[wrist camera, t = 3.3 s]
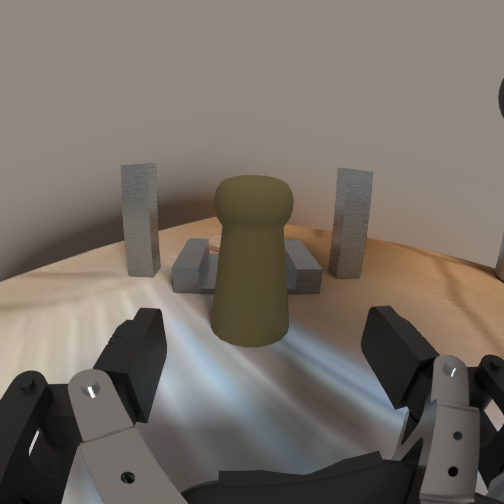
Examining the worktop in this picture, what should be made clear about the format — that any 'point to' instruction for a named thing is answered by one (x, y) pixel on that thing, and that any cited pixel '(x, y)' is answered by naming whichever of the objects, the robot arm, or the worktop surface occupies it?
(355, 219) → the grey u-shaped stand
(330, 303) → the worktop surface
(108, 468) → the robot arm
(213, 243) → the tile
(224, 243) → the cork
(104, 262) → the worktop surface
